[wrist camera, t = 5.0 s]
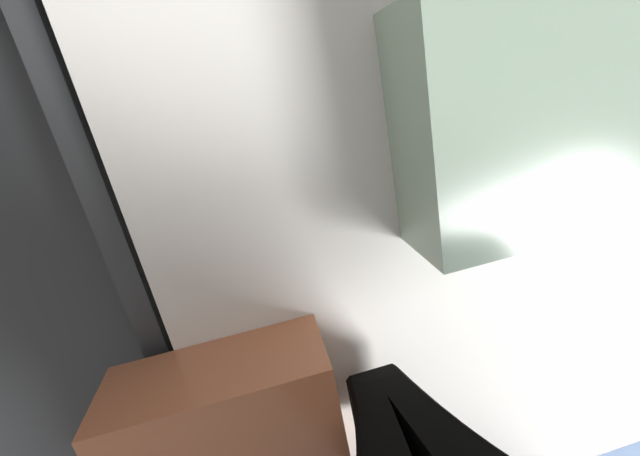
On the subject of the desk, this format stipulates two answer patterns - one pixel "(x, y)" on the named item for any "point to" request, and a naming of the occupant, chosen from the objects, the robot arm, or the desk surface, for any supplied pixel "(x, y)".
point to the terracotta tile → (222, 399)
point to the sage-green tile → (510, 123)
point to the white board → (336, 220)
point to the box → (58, 250)
